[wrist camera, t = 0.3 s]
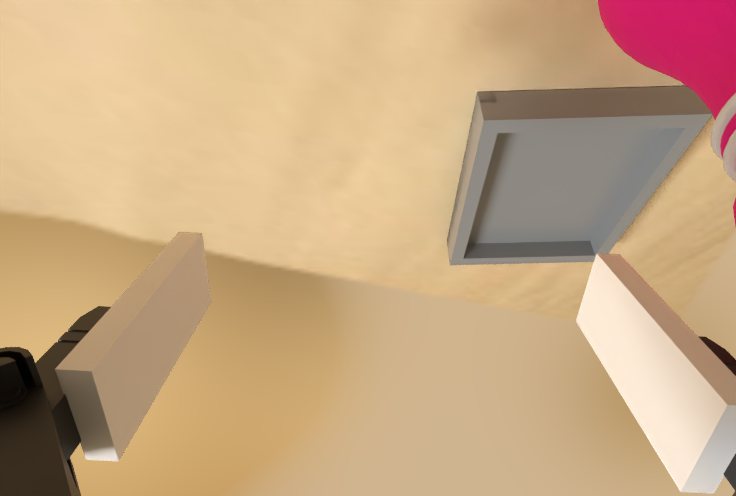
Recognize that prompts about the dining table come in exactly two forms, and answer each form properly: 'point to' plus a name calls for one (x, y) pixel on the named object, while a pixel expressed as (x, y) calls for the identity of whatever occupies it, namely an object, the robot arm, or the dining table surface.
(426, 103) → the dining table surface
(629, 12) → the pepper mill
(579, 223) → the tray
